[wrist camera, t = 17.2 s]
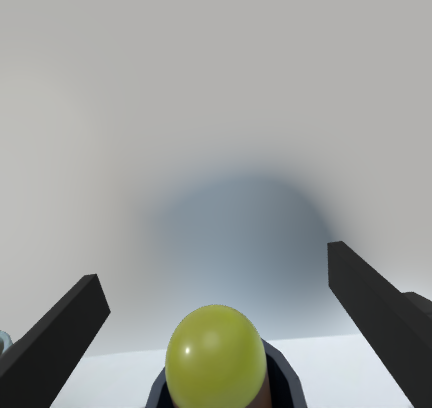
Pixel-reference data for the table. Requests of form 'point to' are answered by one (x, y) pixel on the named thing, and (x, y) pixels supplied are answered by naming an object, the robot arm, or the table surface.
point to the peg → (217, 361)
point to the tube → (278, 381)
